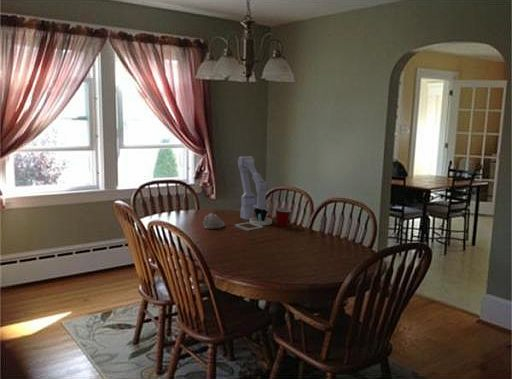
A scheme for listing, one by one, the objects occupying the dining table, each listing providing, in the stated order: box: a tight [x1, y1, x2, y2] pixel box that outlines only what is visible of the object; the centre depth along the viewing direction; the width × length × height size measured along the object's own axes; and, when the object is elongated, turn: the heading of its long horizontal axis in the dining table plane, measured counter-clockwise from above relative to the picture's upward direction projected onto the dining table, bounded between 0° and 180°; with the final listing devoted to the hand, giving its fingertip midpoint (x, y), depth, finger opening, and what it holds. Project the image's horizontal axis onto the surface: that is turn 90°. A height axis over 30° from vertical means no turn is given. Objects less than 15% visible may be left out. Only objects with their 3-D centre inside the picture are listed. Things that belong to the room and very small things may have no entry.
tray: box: [234, 221, 264, 232], centre depth 302 cm, size 14×12×2 cm
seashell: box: [202, 212, 226, 230], centre depth 303 cm, size 12×14×10 cm
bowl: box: [249, 216, 273, 226], centre depth 314 cm, size 15×15×3 cm
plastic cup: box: [274, 207, 292, 228], centre depth 307 cm, size 11×11×12 cm
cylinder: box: [258, 213, 264, 222], centre depth 314 cm, size 4×4×6 cm
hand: (260, 220), depth 314 cm, fingers closed on cylinder, 4 cm apart
